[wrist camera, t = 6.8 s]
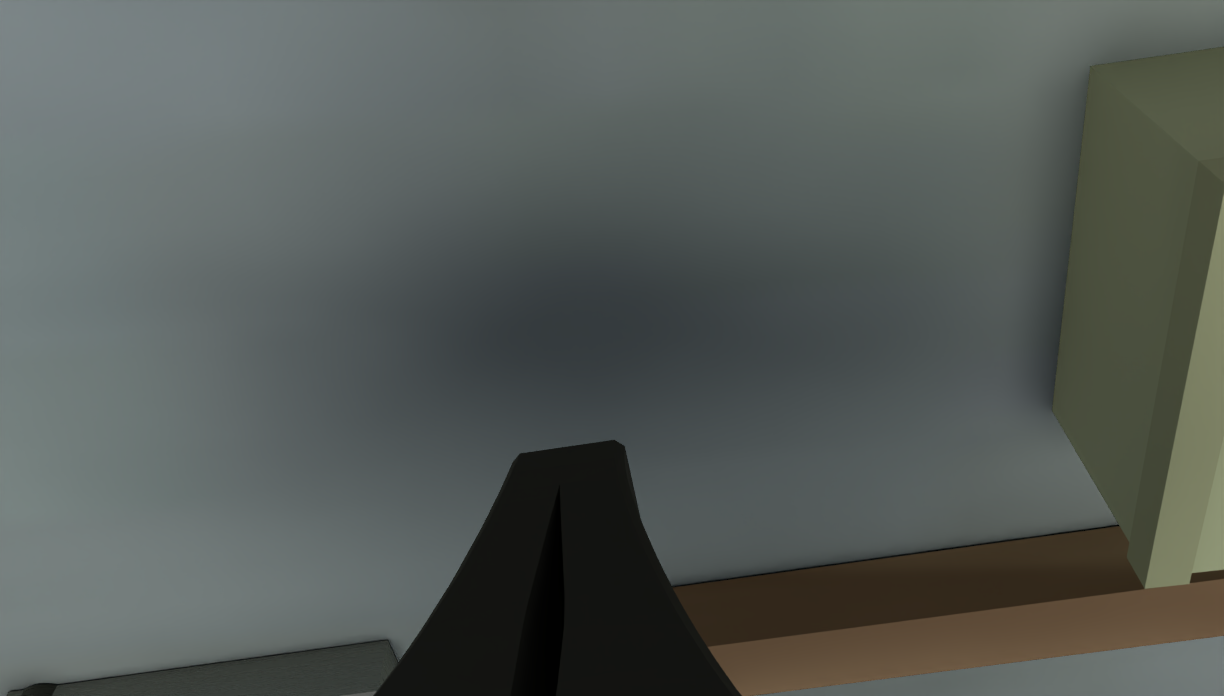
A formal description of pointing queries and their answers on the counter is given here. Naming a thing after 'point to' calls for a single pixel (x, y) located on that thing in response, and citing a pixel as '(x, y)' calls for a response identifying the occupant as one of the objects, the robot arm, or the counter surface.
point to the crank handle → (252, 676)
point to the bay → (944, 612)
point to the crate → (1150, 309)
